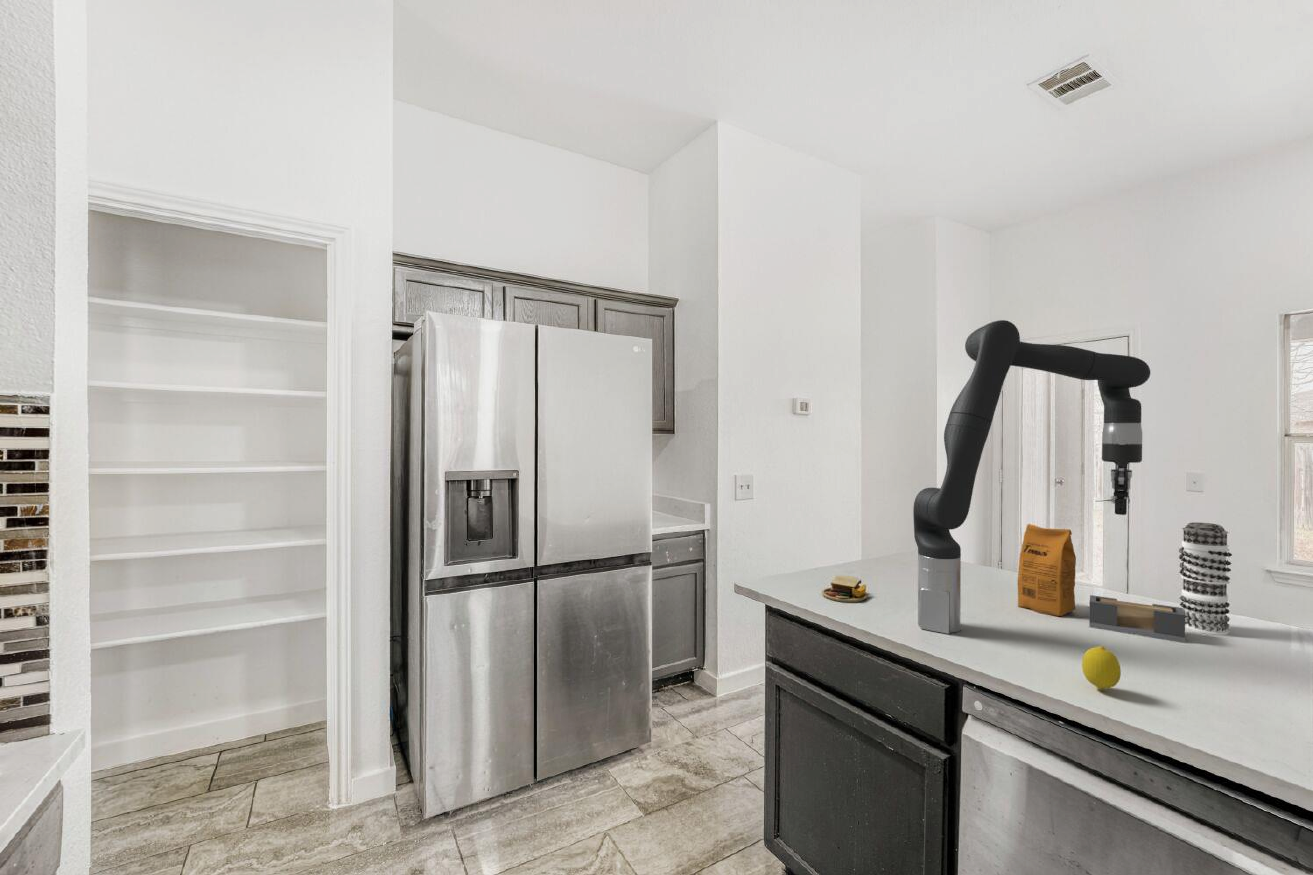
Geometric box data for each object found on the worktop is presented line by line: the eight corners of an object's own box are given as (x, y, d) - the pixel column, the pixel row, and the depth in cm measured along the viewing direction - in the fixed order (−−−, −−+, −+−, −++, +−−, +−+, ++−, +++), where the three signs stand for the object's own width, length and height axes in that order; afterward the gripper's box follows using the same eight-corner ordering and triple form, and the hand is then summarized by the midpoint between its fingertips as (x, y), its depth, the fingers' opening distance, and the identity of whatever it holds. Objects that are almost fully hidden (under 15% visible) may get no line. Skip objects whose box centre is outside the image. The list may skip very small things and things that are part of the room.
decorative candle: (1230, 628, 137) (1231, 523, 136) (1232, 638, 130) (1233, 528, 130) (1178, 619, 143) (1179, 519, 143) (1177, 629, 136) (1178, 524, 136)
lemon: (1074, 684, 107) (1074, 641, 107) (1102, 683, 107) (1102, 640, 107) (1099, 697, 101) (1100, 652, 101) (1128, 696, 102) (1129, 651, 102)
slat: (1172, 633, 131) (1172, 611, 131) (1100, 621, 139) (1100, 600, 139) (1171, 629, 133) (1171, 608, 133) (1100, 618, 141) (1100, 598, 141)
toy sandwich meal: (813, 597, 163) (813, 581, 163) (834, 588, 173) (834, 572, 173) (856, 606, 155) (856, 589, 155) (876, 596, 165) (876, 579, 165)
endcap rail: (1185, 642, 127) (1185, 615, 127) (1089, 626, 138) (1089, 601, 138) (1181, 632, 134) (1181, 607, 134) (1090, 618, 144) (1090, 594, 144)
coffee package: (1032, 600, 159) (1033, 521, 159) (1082, 613, 148) (1082, 528, 148) (1010, 605, 155) (1010, 524, 155) (1059, 618, 144) (1059, 531, 144)
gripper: (1102, 441, 145) (1101, 510, 145) (1101, 442, 135) (1100, 515, 135) (1141, 442, 141) (1140, 513, 141) (1143, 442, 130) (1141, 518, 130)
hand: (1120, 514), depth 138 cm, fingers closed
